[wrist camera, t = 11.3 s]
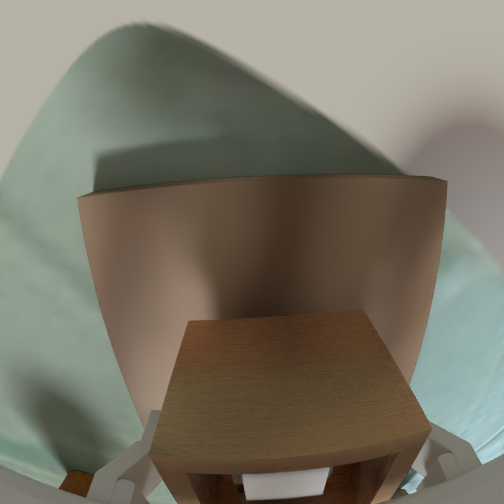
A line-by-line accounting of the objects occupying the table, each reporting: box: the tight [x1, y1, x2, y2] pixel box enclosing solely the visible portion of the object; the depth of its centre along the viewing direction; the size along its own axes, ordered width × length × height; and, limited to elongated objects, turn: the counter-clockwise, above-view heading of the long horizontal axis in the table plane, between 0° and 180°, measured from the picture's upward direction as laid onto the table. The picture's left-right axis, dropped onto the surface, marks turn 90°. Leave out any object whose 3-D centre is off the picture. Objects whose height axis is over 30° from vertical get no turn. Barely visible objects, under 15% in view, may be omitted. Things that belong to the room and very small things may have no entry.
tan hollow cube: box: [149, 309, 432, 504], centre depth 9 cm, size 6×6×6 cm
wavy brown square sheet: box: [77, 174, 447, 500], centre depth 12 cm, size 16×16×8 cm
